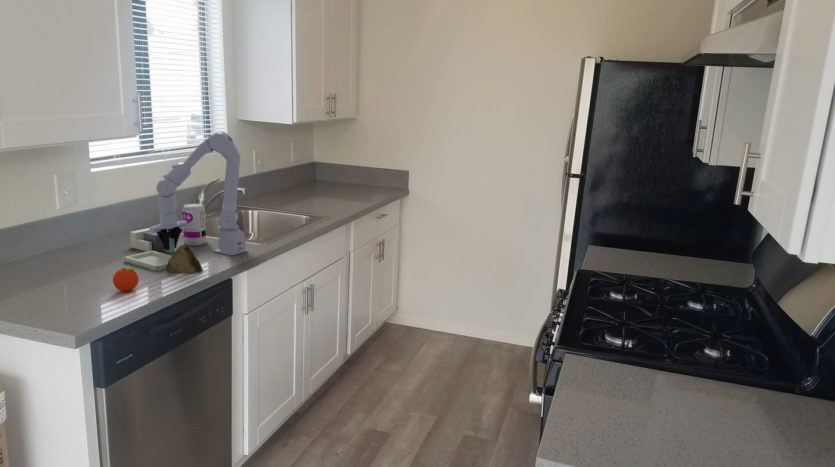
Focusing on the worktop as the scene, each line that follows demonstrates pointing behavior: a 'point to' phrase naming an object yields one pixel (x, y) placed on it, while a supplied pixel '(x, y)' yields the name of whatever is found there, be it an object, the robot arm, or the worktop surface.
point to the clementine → (125, 279)
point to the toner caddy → (158, 242)
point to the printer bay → (140, 240)
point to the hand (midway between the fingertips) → (170, 248)
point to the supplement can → (194, 224)
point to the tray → (149, 260)
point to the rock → (184, 261)
